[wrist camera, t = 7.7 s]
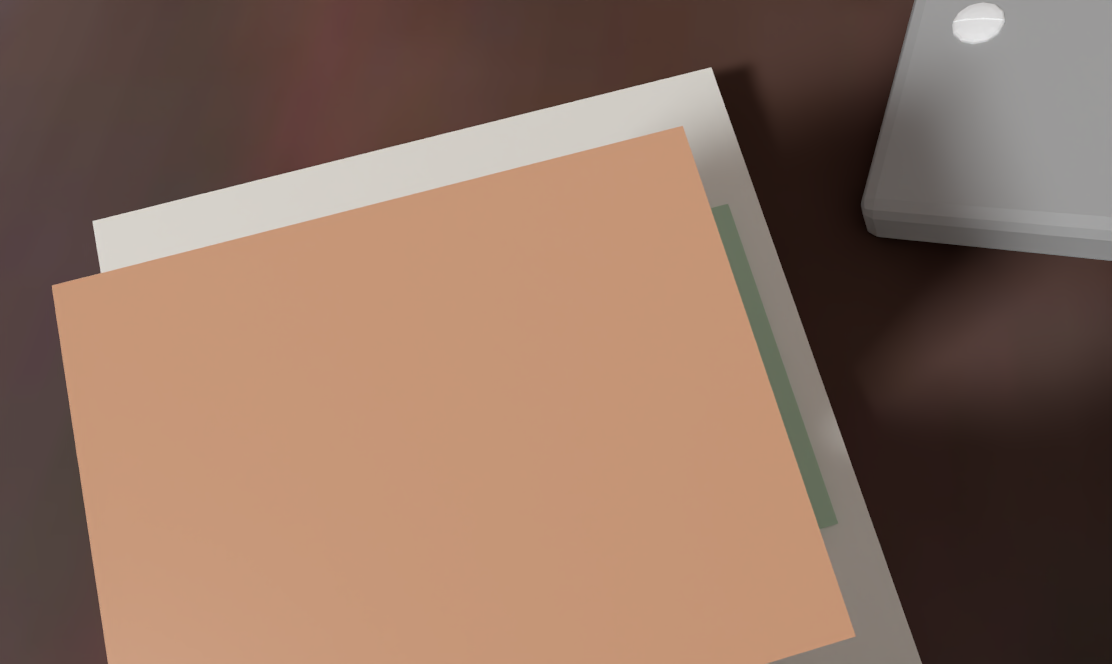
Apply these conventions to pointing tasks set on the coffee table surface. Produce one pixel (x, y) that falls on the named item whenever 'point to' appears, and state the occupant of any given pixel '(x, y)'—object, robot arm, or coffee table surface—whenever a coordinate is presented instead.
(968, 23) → the light switch
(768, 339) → the switch board
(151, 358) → the tan rectangular block
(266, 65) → the coffee table surface
